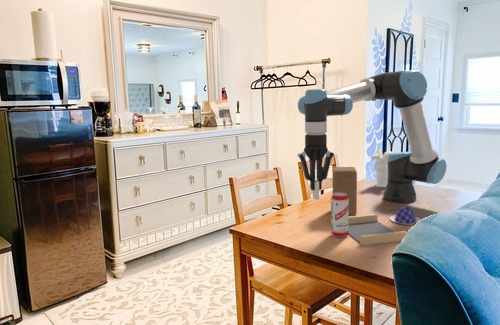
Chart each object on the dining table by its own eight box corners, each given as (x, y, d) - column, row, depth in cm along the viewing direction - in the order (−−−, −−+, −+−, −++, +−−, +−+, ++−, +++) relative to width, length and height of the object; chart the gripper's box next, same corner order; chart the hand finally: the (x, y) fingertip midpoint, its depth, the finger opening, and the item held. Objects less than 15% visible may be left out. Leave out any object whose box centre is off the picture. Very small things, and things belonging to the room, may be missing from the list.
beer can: (329, 232, 141) (328, 192, 138) (345, 231, 141) (345, 191, 139) (334, 238, 135) (334, 196, 132) (350, 237, 135) (351, 195, 133)
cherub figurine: (395, 187, 205) (397, 148, 201) (376, 189, 202) (377, 150, 198) (382, 182, 217) (383, 145, 213) (363, 184, 213) (364, 147, 209)
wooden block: (356, 216, 159) (357, 170, 155) (332, 215, 161) (332, 170, 157) (354, 209, 168) (355, 166, 165) (332, 209, 170) (332, 166, 167)
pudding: (423, 227, 144) (424, 214, 143) (390, 225, 147) (391, 212, 146) (419, 217, 155) (419, 205, 154) (388, 215, 159) (389, 204, 158)
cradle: (375, 220, 152) (375, 213, 152) (406, 240, 131) (407, 232, 130) (336, 224, 149) (336, 217, 149) (362, 245, 128) (362, 237, 128)
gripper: (329, 132, 135) (328, 194, 139) (294, 133, 133) (295, 197, 137) (337, 133, 127) (337, 199, 131) (301, 135, 125) (301, 202, 129)
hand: (315, 198), depth 134 cm, fingers closed
